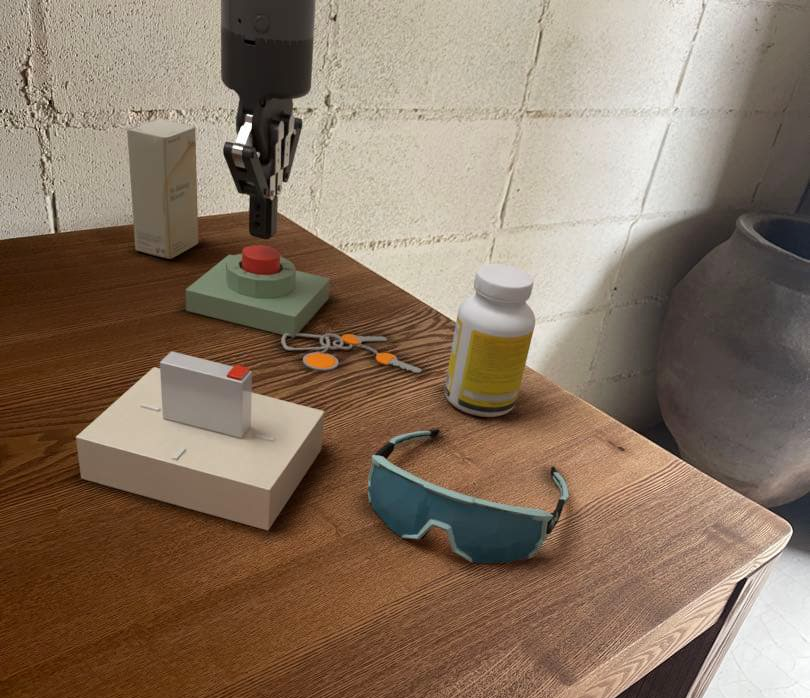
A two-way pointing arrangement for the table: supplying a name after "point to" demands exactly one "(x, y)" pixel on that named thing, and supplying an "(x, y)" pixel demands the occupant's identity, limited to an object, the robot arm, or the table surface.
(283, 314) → the button box
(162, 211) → the cosmetic box
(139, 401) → the base
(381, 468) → the sunglasses
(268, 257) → the button
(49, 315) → the table surface
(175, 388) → the grey flat block
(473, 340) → the pill bottle
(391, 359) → the key chain
